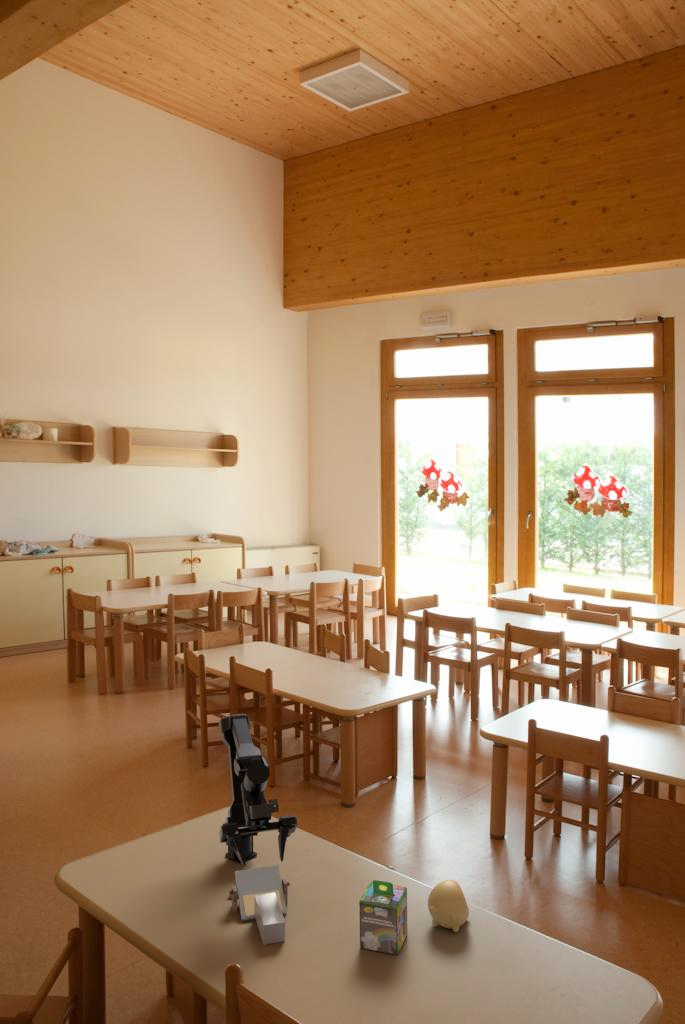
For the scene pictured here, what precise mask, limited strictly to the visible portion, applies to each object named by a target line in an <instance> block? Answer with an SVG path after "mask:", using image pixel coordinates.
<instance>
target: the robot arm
mask: <svg viewBox="0 0 685 1024" xmlns="http://www.w3.org/2000/svg"><path fill="white" fill-rule="evenodd" d="M251 728H252V727H251V717H250V715H248V714H245V713H236V714H235V713H233V714H231V715H228V716H222V718H220V719H219V720H218V732H219V734H221V741H222V743H224V745H225V747H226V748H227V749H228V759H229V761H228V762H229V773H230V784H231V785H230V787H231V797H232V798H231V799H232V802H231V804H230V806H229V809H228V810H227V817H226V819H225V822H224V823H222V825H220V829H219V842H220V843H221V844H222V843H225V845H226V846H227V852H226V853H224V854H225V857H227V858H228V859H230V860H233V861H234V862H237V863H239V864H241V865H242V867H243V868H245V867H246V864H247V863H246V861H248V860H250V859H252V858H254V857H257V856H258V853H257V852H255V851H254V837H255V836H256V837H258V833H262V832H272V831H277V832H278V836H277V840H278V841H277V842H278V853H279V859H280V862H281V863H283V861H284V856H285V849H286V842H287V838H289V837H291V835H292V834H294V833H295V832H296V830H297V827H298V821H297V817H296V816H295V815H294V814H289V815H288V814H287V815H281V816H280V817H279V819H278V821H272V822H271V820H272V817H273V814H274V813H279V801H278V798H272V799H269V800H268V802H267V798H266V792H265V789H266V788H267V784H268V780H269V778H270V773H271V772H270V765H269V762H267V760H266V759H265V756H262V755H263V754H262V752H261V749H260V748H259V747H257V746H255V744H254V743H253V739H252V735H251V731H250V730H251Z"/></svg>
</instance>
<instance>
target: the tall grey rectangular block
mask: <svg viewBox="0 0 685 1024" xmlns="http://www.w3.org/2000/svg"><path fill="white" fill-rule="evenodd" d="M254 916H255V919H254V920H255V922H256V925H257V928H258V932H259V935H260V939H261V942H262V945H263V946H265V945H271V944H276V943H283V942H286V941H285V939H286V920H285V918H284V914H282V911H281V908H280V905H279V903H278V900H277V897H276V894H275V892H274V893H268V894H261V895H255V896H254Z"/></svg>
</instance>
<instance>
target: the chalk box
mask: <svg viewBox="0 0 685 1024" xmlns="http://www.w3.org/2000/svg"><path fill="white" fill-rule="evenodd" d="M358 904H359V905H358V906H359V948H360V949H365V950H369V951H370V950H371V951H374V952H379V953H384V954H388V953H389V955H392V954H394V956H398V954H399V952H400V951H401V949H402V947H403V944H404V942H405V940H406V938H407V935H408V888H407V886H402V885H401V886H400V885H396V884H393V883H392V882H389V881H383V880H377V879H373V880H372V882H370V883H369V885H368V886H367V887H366V889H365V891H364V892H363V894H362V896H361V898H360V900H359V903H358Z"/></svg>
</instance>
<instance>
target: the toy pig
mask: <svg viewBox="0 0 685 1024" xmlns="http://www.w3.org/2000/svg"><path fill="white" fill-rule="evenodd" d="M427 908H428V912H429V915H430V916H431V918H432V922H431V925H432V926H433V927H438V926H441V927H442V928H445V929H452V931H453V932H454V933H457V932H459V930H460V927H461V926H463V924H464V923H465V922H466V921H467V920H468V918H469V916H470V909H469V906H468V903H467V899H466V897H465V894H464V892H463V889H462V887H461V886H460V884H459V882H458V881H456V880H454V879H446V880H443V881H441V882H439V883H438V884H436V885H435V886H434V887H433V888H432V889H431V891H430V893H429V895H428V898H427Z"/></svg>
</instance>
